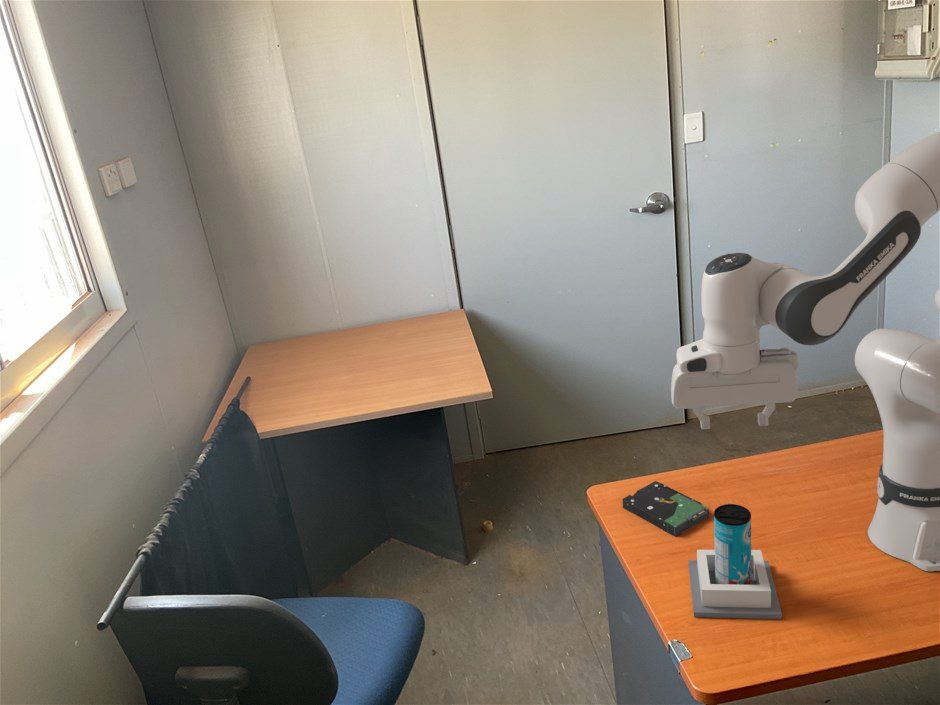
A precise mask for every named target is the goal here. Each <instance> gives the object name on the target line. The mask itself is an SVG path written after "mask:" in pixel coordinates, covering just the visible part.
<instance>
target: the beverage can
mask: <svg viewBox="0 0 940 705" xmlns="http://www.w3.org/2000/svg"><path fill="white" fill-rule="evenodd" d="M713 520H714V521H713V524H714V525H713V529H714V532H713V533H714V535H713V536H714V550H715V582H716V584H733V585H751V550H752V513H751V511H750V510H749V508H747V507H745V506H743V505H741V504H740V505H739V504H737V503H727V504H722V505H719V506H718V507H716V508H715V509H714V512H713Z"/></svg>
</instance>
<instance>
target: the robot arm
mask: <svg viewBox="0 0 940 705" xmlns="http://www.w3.org/2000/svg"><path fill="white" fill-rule="evenodd" d="M855 194H856V195H855V198H854V199H855V200H854V213H855V216H856V219H857V221H858V223H859V225H860V227H861V228H862V230H863V231H864V232H865V234H866V237H865V238H864V240H863V241H862V242H861V243H860V245H858V246H857V247H856V248H855V249H854V250H853V251H852V252H851V253H850V254H848V257H846V258H845V259H844V260H843V261H842V262H841V263H840V265H838V266H837V267H836V268H835V269H834V270H833V271H832V272H830V273H828V274H825V275H824V274H823V275H820V276H819V275H818V276H814V275H812V274H809V273H806V272H804V271H803V270H801V269H798V268H795V267H793V266H791V265H788V264H784V263H779V262H767V261H763V260H760V259H757V258H755V257H753V256H752V255H751V254H749V253H745V252H735V253H733V252H732V253H725V254H722V255H720V256H717V257H715V258H713V259H712V260H711V261H709V263H708V264H707V265H706V266H705V268H704V271H703V274H702V278H701V293H700V295H701V297H700V300H701V301H700V302H701V303H700V305H701V306H700V307H701V316H702V318H703V321H704V329H703V332H702V338H701V339H698V340H696V341H694V342H691V343H687V344H685V345H682V346H680V347H678V348H677V350H676V354H675V355H676V364H675V365H674V367H673V368H672V369H673V370H672V373H671V374H672V375H671V384H670V394H671V395H670V396H671V403H672V406H673V407H675V408H676V409H677V410H689V409H693V413H694V415H695V417H697V419H698V420H699V421H700V422H699V423H700V428H701V429H700V430H709V429H710V430H711V419H710V416H709V415H704V414H703V412H704V411H703V409H704V408H717V407H733V406H734V407H735V406H748V405H749V406H751V405H763V404H764V405H765V406H764V408H763V410H762V411H761V412H757V424H758V426H759V427H762V426H765V427H766V426H769V418H770V417H771V415H772V414H773V412H774V411H775V409H776V404H780V403H781V404H782V403H783V404H784V403H793V402H794V401H795V400H796V399H797V398H798V396H799V387H798V381H797V380H798V379H797V375H796V371H797V370H798V368H799V364H800V363H799V355H798V353H797V351H795V350H792V349H789V348H788V347H781V348H767V349H765V348H764V349H761V338H760V336H761V335H760V334H761V333H760V332H761V328H762V327H764V326H768V325H771V326H772V327H774V328H776V329H778V330H780V331H781V332H782V333H783V334H785V335H787V337H789V338H790V339H792V340H793V341H794V342H796V343H797V344H800V345H803V346H815V345H816V346H817V345H820V344H823V343H825V342H828V341H829V340H831V339H833V338H834V337H835V336H837V335H838V334H839V333H840V332H841V331H842V329H843V328H845V326H846V325H847V323H848V321H849V319H851V316H852V315H853V313H854V312H855V311H856V309H857V308H858V307H859V306H860V304H862V303H863V302H864V300H865V299H866V298H867V297H868V296H869V295H870V294H871V293H873V291H874V290H875V289H876V288H877V287H878V286H879V285H880V284H881V283H882V282H883V281H884V280H885V279H886V278H887V277H888V275H890V274H891V273H892V272H893V271H894V270H895V269H896V267H897V266H898V265H899V264H900V263H901V262H902V261H903V260H904V259H905V258H906V257H907V255H909V253H911V251H912V250H913V249H914V247H915V246H916V244H917V242H918V241H919V239H920V236H921V232H922V227H923V226H924V224H926V223H927V222H928V221H929V220H930V219H931V218H933V217H934V216H935V215H936V214H937V213H938V212H940V131H939V132H935V133H932V134H931V135H929V136H926V137H924V138H923V139H921V140H919V141H918V142H916V143H914V144H912V145H911V146H909V147H908V148H906V149H905V150H903V151H901V152H900V153H899V154H897V155H896V156H895V157H893V158H892V159H891V160H889V161H888V162H887V163H885V164H884V165H883V166H882V167H881V168H879V169H878V170H877V171H875V172H874V173H873V174H872V175H871V176H870V177H869V178H867V180H865V181H864V183H863V184H862V185H861V187H859V189H858V190H857V192H856V193H855ZM934 304H935V308H936V309H937V312H938V313H939V314H940V286H939V288H938V289H937V291H936V292H935V295H934ZM854 365H855V366H854V367H855V369H856V371H857V372H858V373H859V375H860V376H861V377H862V378H863V380H864V381H865V383H866V384H867V385H868V387H869V390H870V392H871V394H872V397H873V399H874V402H875V403H876V406H877V409H878V413H879V416H880V420H881V424H882V431H883V445H882V446H883V449H882V450H883V451H882V452H883V454H882V463H881V465H880V466H879V473H878V477H877V487H876V488H877V491H876V492H877V496H878V500H877V504H876V508H875V511H874V515H873V516H872V517H873V518H872V520H871V521H870V524H869V526H868V528H867V535H868V538H869V540H870V542H871V543H872V544H873V545H874V546H875V547H876V548H878V549H879V550H880V551H882V552H883V553H885V554H887V555H889V556H891V557H894V558H897V559H899V560H902V561H904V562H908V563H910V564H911V565H912V566H913V565H914V566H915V567H917V568H919V569H920V570H922V571H926V572H939V571H940V337H938V339H937V340H934V339H931V337H930V338H929V337H926V336H924V335H921V334H917V333H915V332H912V331H909V330H905V329H897V328H896V329H895V328H882V327H881V328H877V329H874V330H872V331H870V332H869V333H867V334H866V335H865V336H864V337H863V338H862V339H861V340H860V342H859V344H858V345H857V347H856V350H855V353H854Z"/></svg>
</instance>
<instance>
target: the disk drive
mask: <svg viewBox="0 0 940 705" xmlns="http://www.w3.org/2000/svg"><path fill="white" fill-rule="evenodd" d="M622 509H625V510H627V511H628V512H629V513H631V514H633V515H635V516H636V517H639V518H640V519H642V520H644V521H646V522H647V523H649V524H651V525H653V526H654V527H657V528H659V529H660V530H662V531H664V532H666V533H667V534H669V535H671V536H672V537H675V538H676V537H678V536H680V535H681V534H683V533H685V532H687V531H688V530H690V529H692V527H695V526H697V525H698V524H699V523H701V522H703V521H704V520H706V519H708V518H710V509H709V508H708V507H707V505H704V504H703V503H702V502H700V501H698V500H696V499H693V498H692V497H690V496H687V495H686V494H683V493H681V492H679V491H678V490H675V489H673V488H671V487H669V486H668V485H665V484H663V483H661V482H659V481H657V480H654V481H653V482H651V483H649V484H648V485H645V486H644V487H641V488H639V489H637V490H636V492H635V493H634V494H633V495H632V494H629V495H627V496H625V497H623V498H622Z"/></svg>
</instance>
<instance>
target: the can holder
mask: <svg viewBox="0 0 940 705" xmlns="http://www.w3.org/2000/svg"><path fill="white" fill-rule="evenodd" d="M687 563H688V564H687V565H688V573H689V574H688V575H689V583H690V591H691V594H690V595H691V602H692V611H693V612H692V613H693V618H714V619H715V618H719V619H720V618H721V619H722V618H723V619H757V620H759V619H763V620H782V619H783V613H782V610H781V606H780V602H779V601H780V600H779V597H778V594H777V590H776V589H777V588H776V585H775V581H774V578H773V575H772V570H771V566H770V562H769V560H764V557H763V552H762V549H751V585H733V584H716V582H715V549H696V559H694V560H693V559H688V561H687Z"/></svg>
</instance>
